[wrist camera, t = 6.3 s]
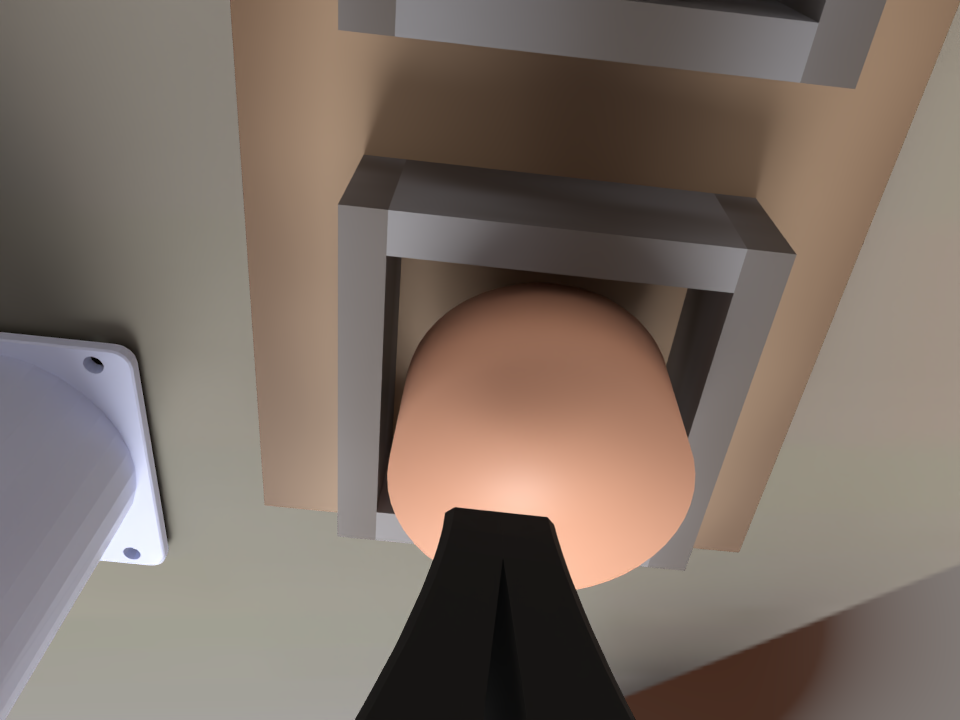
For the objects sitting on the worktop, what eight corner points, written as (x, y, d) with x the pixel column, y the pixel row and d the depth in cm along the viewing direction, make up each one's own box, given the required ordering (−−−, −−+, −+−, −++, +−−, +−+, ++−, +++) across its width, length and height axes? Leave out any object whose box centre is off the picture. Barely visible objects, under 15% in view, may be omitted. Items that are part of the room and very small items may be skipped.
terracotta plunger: (399, 484, 16) (382, 578, 14) (412, 268, 13) (393, 344, 11) (638, 509, 16) (656, 605, 14) (698, 299, 13) (733, 379, 11)
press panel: (293, 431, 22) (234, 583, 17) (246, -788, 10) (36, -1299, 6) (713, 473, 22) (766, 635, 18) (1111, -668, 11) (1561, -1068, 6)
